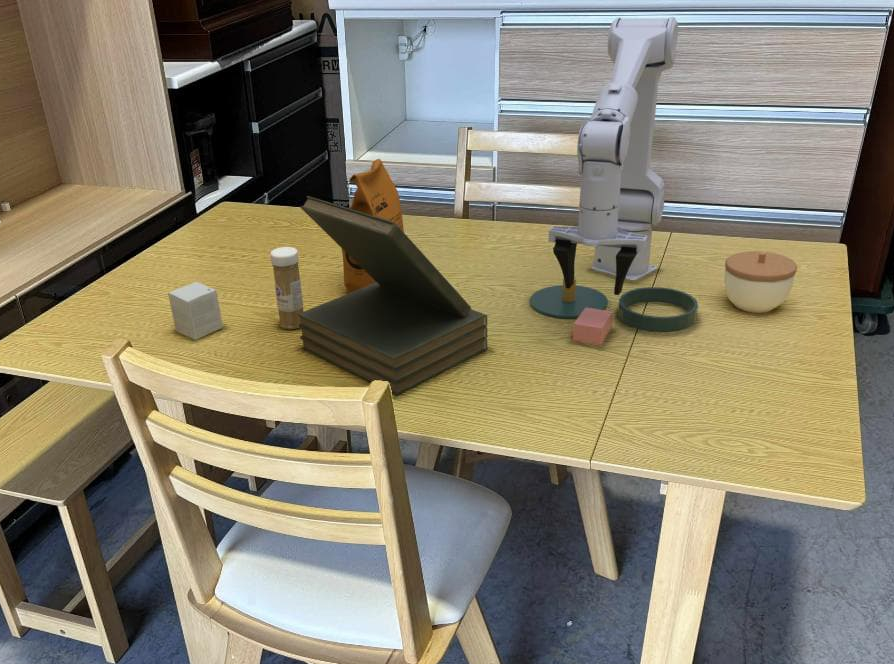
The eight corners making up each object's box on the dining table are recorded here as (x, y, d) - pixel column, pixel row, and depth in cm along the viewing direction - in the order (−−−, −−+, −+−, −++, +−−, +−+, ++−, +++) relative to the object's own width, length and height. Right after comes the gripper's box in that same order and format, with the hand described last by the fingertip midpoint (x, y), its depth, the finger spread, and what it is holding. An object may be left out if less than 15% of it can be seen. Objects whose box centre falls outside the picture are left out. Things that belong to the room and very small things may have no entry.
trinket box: (794, 321, 139) (805, 266, 134) (723, 319, 141) (732, 265, 136) (782, 294, 148) (792, 241, 143) (715, 293, 150) (723, 241, 145)
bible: (487, 350, 137) (487, 194, 124) (396, 396, 126) (386, 231, 114) (390, 310, 152) (381, 168, 139) (301, 348, 142) (283, 198, 129)
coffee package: (336, 293, 160) (324, 175, 149) (367, 269, 169) (358, 155, 158) (384, 300, 156) (376, 179, 145) (413, 275, 165) (408, 159, 154)
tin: (602, 320, 143) (604, 304, 142) (645, 297, 150) (646, 281, 149) (668, 342, 135) (670, 325, 134) (709, 316, 142) (712, 299, 141)
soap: (572, 343, 137) (573, 323, 135) (584, 326, 142) (585, 307, 140) (600, 347, 135) (602, 328, 134) (611, 330, 140) (613, 311, 138)
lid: (514, 307, 150) (514, 280, 147) (561, 284, 157) (562, 258, 154) (575, 329, 141) (577, 300, 139) (622, 303, 148) (625, 275, 146)
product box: (204, 319, 154) (197, 280, 150) (224, 328, 150) (217, 289, 146) (174, 331, 150) (166, 292, 147) (194, 341, 147) (186, 301, 143)
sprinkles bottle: (274, 326, 150) (264, 252, 143) (292, 316, 152) (283, 243, 146) (293, 332, 147) (283, 257, 140) (311, 323, 150) (303, 249, 143)
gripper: (543, 208, 129) (540, 292, 136) (642, 217, 122) (634, 305, 129) (557, 194, 134) (554, 276, 141) (653, 202, 128) (645, 287, 135)
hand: (593, 289), depth 136 cm, fingers open, 7 cm apart
